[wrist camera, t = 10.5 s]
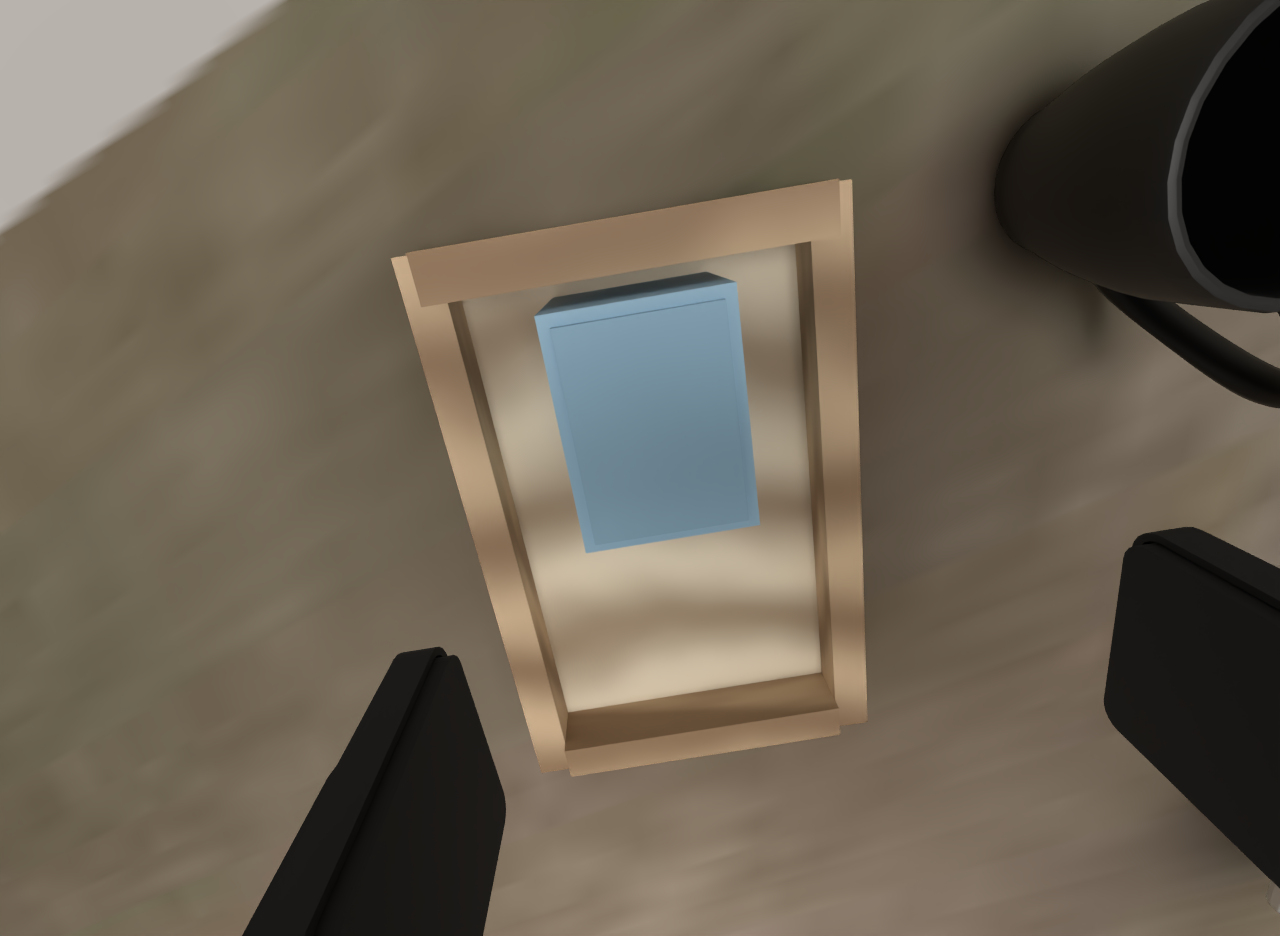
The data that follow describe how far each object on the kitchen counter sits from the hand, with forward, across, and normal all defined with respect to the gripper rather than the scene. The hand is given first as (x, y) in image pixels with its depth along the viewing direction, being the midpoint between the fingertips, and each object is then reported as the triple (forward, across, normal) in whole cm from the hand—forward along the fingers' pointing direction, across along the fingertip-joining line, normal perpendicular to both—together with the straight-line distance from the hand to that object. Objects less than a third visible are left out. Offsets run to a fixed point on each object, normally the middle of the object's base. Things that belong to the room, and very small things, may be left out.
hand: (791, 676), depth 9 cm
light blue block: (+17, +1, 0) cm, 17 cm away
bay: (+18, +1, +5) cm, 19 cm away
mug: (+19, -17, -4) cm, 25 cm away
